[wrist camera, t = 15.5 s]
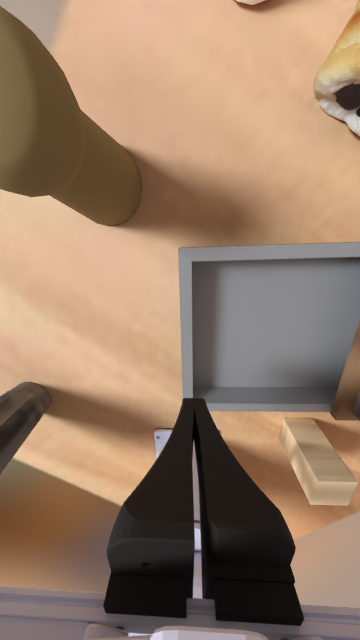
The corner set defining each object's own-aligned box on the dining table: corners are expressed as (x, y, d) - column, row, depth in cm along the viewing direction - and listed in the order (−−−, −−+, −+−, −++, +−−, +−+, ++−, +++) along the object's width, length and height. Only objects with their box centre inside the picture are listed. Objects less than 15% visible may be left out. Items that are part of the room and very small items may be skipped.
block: (306, 438, 25) (347, 505, 19) (278, 438, 26) (310, 504, 19) (312, 417, 24) (358, 482, 18) (283, 417, 24) (318, 481, 18)
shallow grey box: (377, 391, 22) (404, 412, 19) (183, 390, 23) (183, 410, 21) (439, 239, 17) (490, 238, 14) (179, 247, 18) (178, 248, 15)
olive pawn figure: (56, 153, 16) (-203, -26, 5) (127, 127, 15) (-13, -141, 5) (87, 234, 18) (-55, 218, 7) (151, 214, 17) (93, 167, 7)
